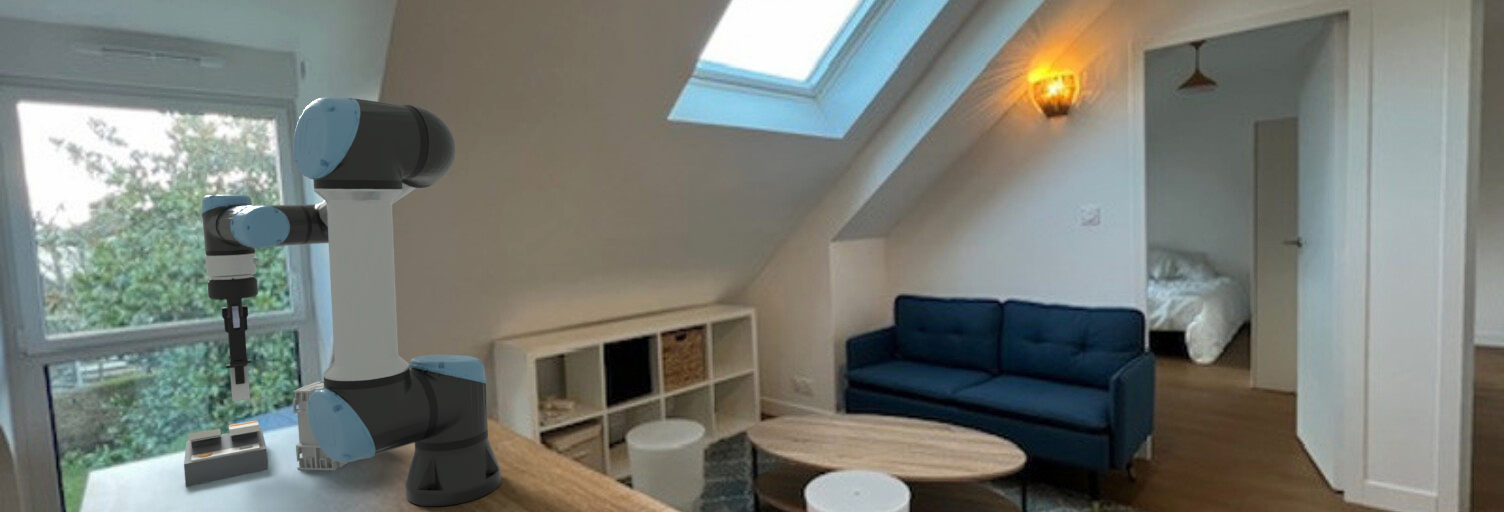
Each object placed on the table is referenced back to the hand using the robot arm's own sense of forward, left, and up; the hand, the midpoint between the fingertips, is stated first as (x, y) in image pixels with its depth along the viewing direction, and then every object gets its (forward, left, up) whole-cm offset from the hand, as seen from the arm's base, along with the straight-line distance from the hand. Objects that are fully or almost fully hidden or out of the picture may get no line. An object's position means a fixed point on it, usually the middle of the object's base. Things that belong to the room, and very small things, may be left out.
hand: (241, 399), depth 133 cm
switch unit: (+1, +3, -13) cm, 13 cm away
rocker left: (+3, +6, -7) cm, 9 cm away
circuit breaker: (-8, -15, -13) cm, 21 cm away
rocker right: (+3, 0, -7) cm, 7 cm away
